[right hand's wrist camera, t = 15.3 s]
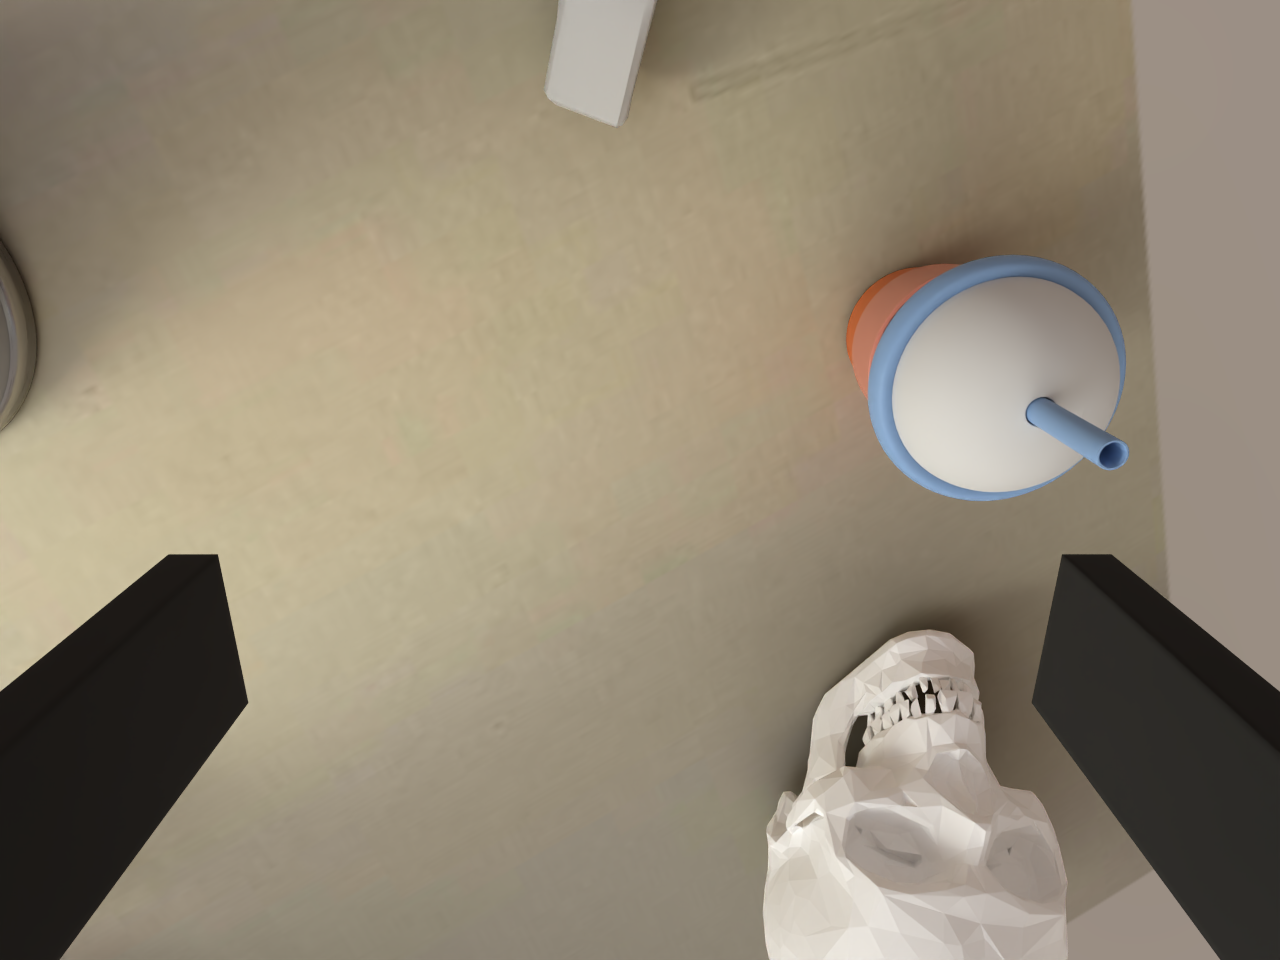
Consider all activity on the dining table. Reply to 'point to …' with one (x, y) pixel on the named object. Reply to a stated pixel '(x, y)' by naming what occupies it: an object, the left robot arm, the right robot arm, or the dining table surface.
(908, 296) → the cup with straw
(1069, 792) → the dining table surface
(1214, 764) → the right robot arm
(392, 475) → the dining table surface
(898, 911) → the skull
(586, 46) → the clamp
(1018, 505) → the dining table surface
